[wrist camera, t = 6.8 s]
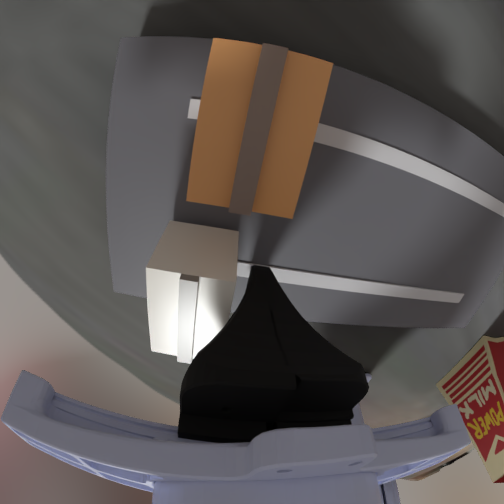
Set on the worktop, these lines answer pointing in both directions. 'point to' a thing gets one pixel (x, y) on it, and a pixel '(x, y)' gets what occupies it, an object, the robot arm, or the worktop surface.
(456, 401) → the milk carton
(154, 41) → the mixing panel
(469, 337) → the worktop surface
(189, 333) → the block
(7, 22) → the worktop surface
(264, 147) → the fader orange
